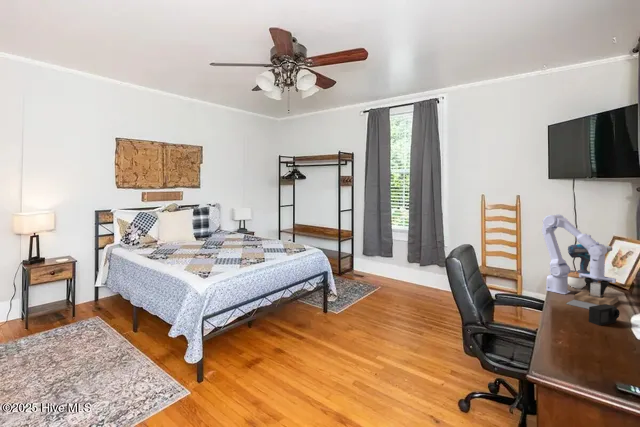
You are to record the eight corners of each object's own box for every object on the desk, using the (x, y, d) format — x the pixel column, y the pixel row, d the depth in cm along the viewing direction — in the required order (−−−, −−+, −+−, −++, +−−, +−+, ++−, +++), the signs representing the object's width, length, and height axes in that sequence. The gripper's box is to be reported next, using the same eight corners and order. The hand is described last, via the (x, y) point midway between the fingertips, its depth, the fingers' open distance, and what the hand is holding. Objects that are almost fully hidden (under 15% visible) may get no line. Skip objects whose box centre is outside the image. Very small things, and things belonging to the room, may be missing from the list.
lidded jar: (592, 289, 184) (593, 273, 183) (573, 289, 184) (574, 273, 183) (578, 284, 194) (578, 269, 194) (560, 284, 195) (560, 269, 194)
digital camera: (602, 326, 134) (603, 310, 133) (588, 322, 139) (589, 306, 138) (619, 323, 137) (620, 307, 136) (605, 319, 142) (605, 303, 141)
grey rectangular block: (590, 300, 166) (590, 283, 166) (592, 298, 168) (593, 281, 168) (599, 302, 163) (600, 284, 162) (602, 300, 165) (603, 283, 165)
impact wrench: (614, 286, 189) (616, 244, 188) (571, 284, 194) (572, 244, 192) (605, 282, 197) (606, 242, 195) (564, 281, 201) (565, 242, 200)
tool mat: (565, 303, 161) (565, 303, 161) (573, 299, 167) (573, 299, 167) (601, 312, 150) (601, 311, 150) (608, 307, 155) (608, 307, 155)
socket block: (574, 299, 168) (574, 294, 167) (584, 294, 175) (584, 289, 175) (609, 306, 156) (609, 301, 156) (618, 301, 164) (618, 296, 164)
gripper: (577, 266, 168) (576, 291, 169) (613, 271, 156) (612, 298, 157) (582, 264, 172) (581, 289, 173) (617, 269, 160) (616, 295, 161)
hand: (596, 293), depth 165 cm, fingers closed on grey rectangular block, 4 cm apart
